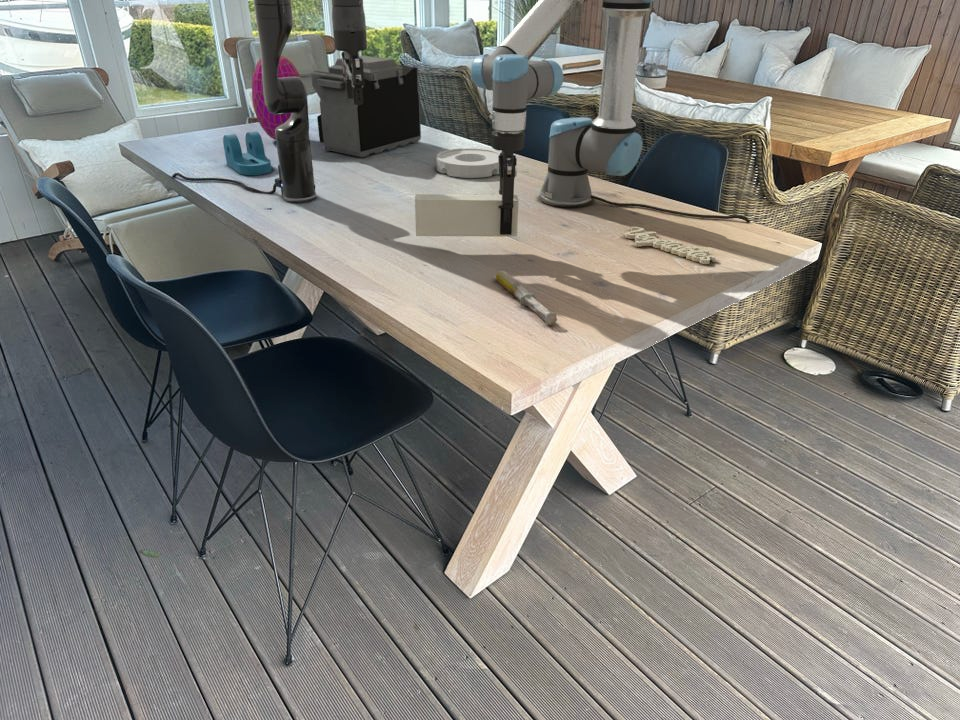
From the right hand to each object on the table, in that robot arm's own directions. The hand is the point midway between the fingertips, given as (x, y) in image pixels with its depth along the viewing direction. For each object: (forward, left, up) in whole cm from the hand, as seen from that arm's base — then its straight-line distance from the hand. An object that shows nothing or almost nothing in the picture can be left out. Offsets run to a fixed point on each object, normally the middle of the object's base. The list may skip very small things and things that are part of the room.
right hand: (504, 230), depth 165 cm
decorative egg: (+122, -68, -5) cm, 139 cm away
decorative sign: (-35, -20, -5) cm, 41 cm away
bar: (+8, +4, -1) cm, 9 cm away
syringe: (-15, +24, -5) cm, 29 cm away
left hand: (+40, 0, +26) cm, 48 cm away
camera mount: (+105, -30, -5) cm, 109 cm away
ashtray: (+40, -64, -5) cm, 75 cm away
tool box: (+87, -75, -5) cm, 115 cm away
